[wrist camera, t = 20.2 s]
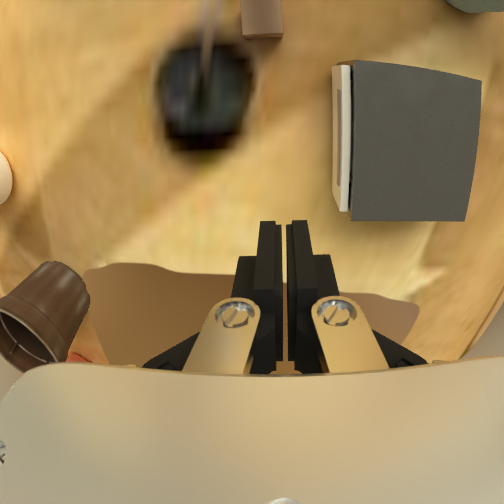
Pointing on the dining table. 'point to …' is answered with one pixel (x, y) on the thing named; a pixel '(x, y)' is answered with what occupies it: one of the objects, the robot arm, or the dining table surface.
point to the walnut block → (261, 19)
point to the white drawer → (342, 134)
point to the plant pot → (42, 316)
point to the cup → (5, 179)
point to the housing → (412, 142)
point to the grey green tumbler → (478, 5)
